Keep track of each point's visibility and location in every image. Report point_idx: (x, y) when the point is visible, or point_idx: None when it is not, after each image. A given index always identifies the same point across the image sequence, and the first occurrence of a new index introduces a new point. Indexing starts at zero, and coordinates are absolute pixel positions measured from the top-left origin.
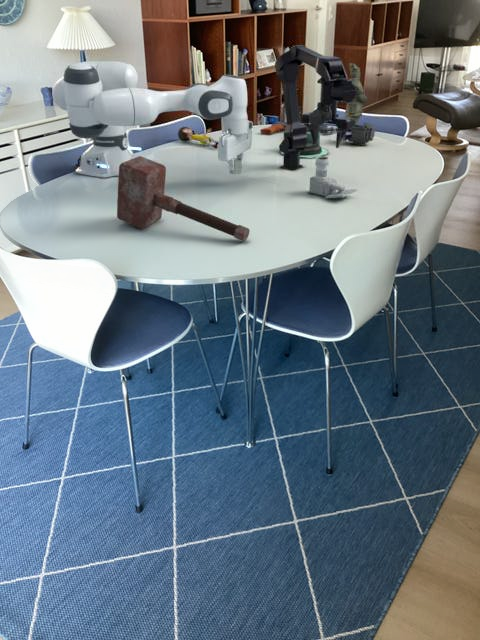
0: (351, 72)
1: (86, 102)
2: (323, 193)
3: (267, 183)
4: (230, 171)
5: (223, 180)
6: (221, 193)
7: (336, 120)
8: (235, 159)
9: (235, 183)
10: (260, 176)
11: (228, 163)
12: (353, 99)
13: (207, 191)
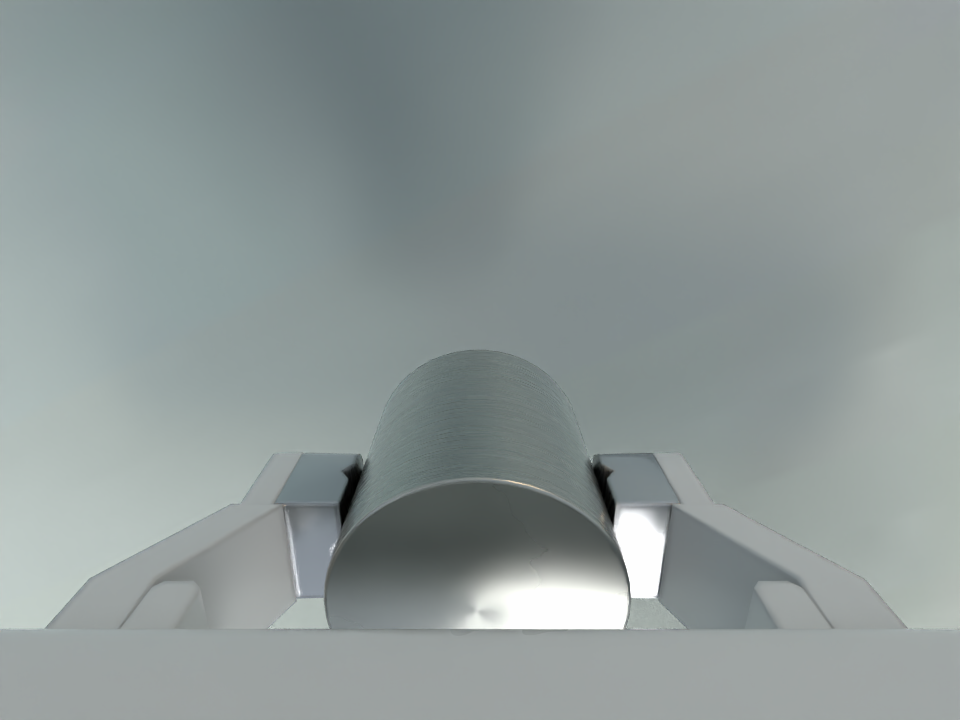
0: None
1: None
2: None
3: (659, 620)
4: (390, 402)
5: (645, 93)
6: (117, 333)
7: None
8: (479, 611)
9: (556, 320)
10: (916, 476)
11: (185, 539)
12: None
13: (76, 118)
